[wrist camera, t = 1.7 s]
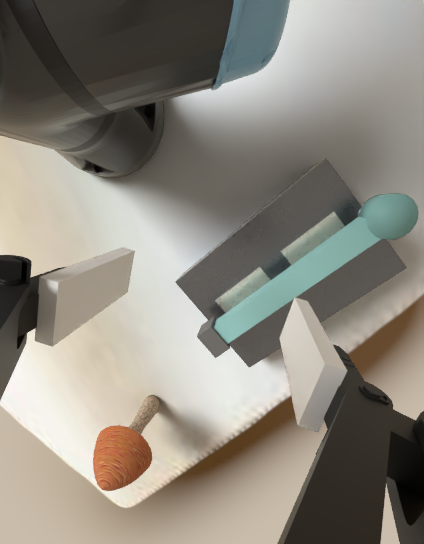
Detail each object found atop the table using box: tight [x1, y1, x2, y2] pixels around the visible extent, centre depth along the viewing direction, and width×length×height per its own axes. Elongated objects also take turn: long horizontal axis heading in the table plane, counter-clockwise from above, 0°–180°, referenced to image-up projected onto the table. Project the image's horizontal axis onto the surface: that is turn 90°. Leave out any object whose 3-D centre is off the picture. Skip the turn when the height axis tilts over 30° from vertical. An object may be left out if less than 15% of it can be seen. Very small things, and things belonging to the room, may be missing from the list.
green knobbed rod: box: [197, 194, 418, 358], centre depth 28 cm, size 24×4×3 cm, turn 130°
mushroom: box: [93, 395, 160, 491], centre depth 38 cm, size 8×8×15 cm
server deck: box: [176, 159, 407, 367], centre depth 33 cm, size 15×23×8 cm, turn 130°
